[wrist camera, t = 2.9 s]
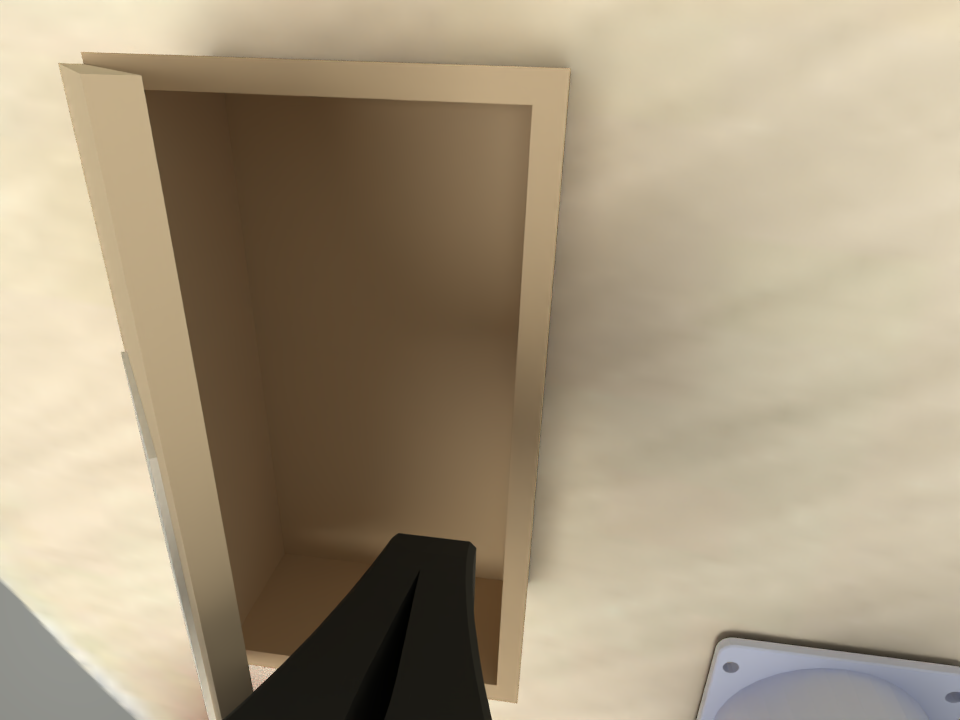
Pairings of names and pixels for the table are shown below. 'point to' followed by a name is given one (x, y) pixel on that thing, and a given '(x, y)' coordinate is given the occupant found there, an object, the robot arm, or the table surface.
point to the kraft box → (364, 317)
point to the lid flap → (160, 366)
